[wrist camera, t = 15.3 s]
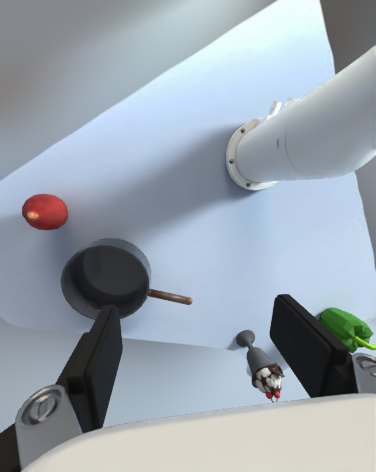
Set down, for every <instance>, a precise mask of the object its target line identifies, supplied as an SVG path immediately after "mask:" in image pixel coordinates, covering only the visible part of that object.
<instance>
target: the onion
mask: <svg viewBox="0 0 376 472" xmlns="http://www.w3.org/2000/svg"><path fill="white" fill-rule="evenodd" d="M22 215H23V217H24V218H25V220H26V221H27V222H28V223H29V224H30V225H31V226H32V227H35V228H37V229H40V230H53V229H58V228H59V227H61V226H62V225H64V224H65V222H66V221H67V219H68V210H67V206H66V205H65V204H64V202H63V201H62V200H61V199H59V198H58V197H56V196H53V195H48V194H38V195H34V196H32V197H31V198H29V199H27V200H26V202H25V203H24V205H23V207H22Z"/></svg>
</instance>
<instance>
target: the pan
mask: <svg viewBox="0 0 376 472" xmlns="http://www.w3.org/2000/svg"><path fill="white" fill-rule="evenodd" d="M150 280H151V269H150V265H149V262H148V260H147V258H146V256H145V255H144V254H143V253H142V251H141V250H140V249H138V248H137V247H136V246H134V245H133V244H131V243H129V242H127V241H124V240H120V239H112V238H111V239H101V240H98V241H95V242H93V243H91V244H89V245H87V246H85V247H84V248H83V249H81V250H80V251H79V252H77V253H76V254H75V255H74V256H73V257H72V258H71V259H70V260H69V261H68V262H67V264H66V266H65V268H64V269H63V273H62V277H61V286H62V292H63V294H64V296H65V298H66V300H67V302H68V303H69V304H70V305H71V307H72V308H73V309H75V310H76V311H77V312H79V313H80V314H81V315H84V316H86V317H88V318H91V319H94V320H96V318H97V317H98V315H99V313H100V311H101V309H102V307H103V306H104V305H115V307H118V309H119V317H120V319H122V318H125V317H127V316H129V315H131V314H133V313H134V312H135V311H137V310H138V309H139V308H140V307H141V306H142V304H143V303H144V301H145V300H146V298H147V295H148V292H149V288H150Z"/></svg>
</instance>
